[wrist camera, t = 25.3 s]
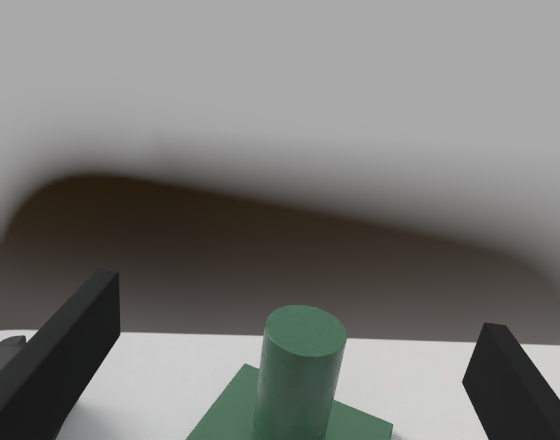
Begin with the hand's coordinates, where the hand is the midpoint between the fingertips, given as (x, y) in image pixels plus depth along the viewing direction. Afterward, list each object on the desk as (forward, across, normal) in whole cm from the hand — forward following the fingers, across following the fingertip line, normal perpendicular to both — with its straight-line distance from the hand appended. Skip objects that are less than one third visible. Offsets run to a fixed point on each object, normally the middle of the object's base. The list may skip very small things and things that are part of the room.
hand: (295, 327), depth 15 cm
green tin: (+13, +2, -22) cm, 26 cm away
